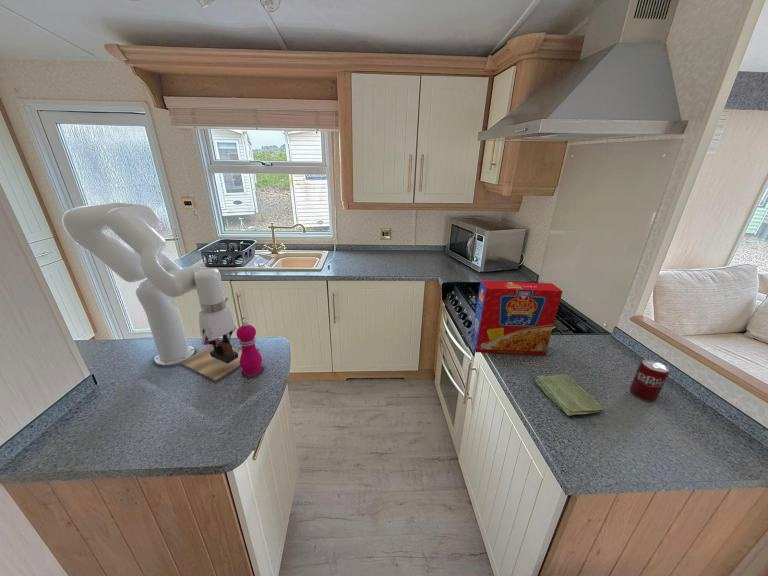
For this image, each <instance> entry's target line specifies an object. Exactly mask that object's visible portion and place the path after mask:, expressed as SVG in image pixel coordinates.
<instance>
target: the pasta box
mask: <svg viewBox="0 0 768 576" xmlns="http://www.w3.org/2000/svg"><path fill="white" fill-rule="evenodd" d="M562 295H563V290H562V289H560V288H559V287H558V286H556V285H555V284H554V283H553V282H528V281H527V282H526V281H503V280H502V281H499V280H497V281H496V280H480V281H479V288H478V294H477V299H476V300H477V301H476V307H475V312H474V319H473V320H474V321H473V326H472V332H471V339H470V343H471V345H472V347H473V349H474V352H475V353H481V354H507V355H509V354H510V355H534V356H546V355H547V351H548V348H549V343H550V339H551V336H552V333H553V329H554V325H555V322H556V318H557V314H558V310H559V306H560V302H561V299H562Z"/></svg>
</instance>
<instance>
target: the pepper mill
mask: <svg viewBox="0 0 768 576" xmlns="http://www.w3.org/2000/svg"><path fill="white" fill-rule="evenodd" d="M256 335H257V330H256V328H255V327H254V325H252V324H249V323H248V322H247V321H243V322H242V323H241V325H240V326H239V327H238V328H236V338H237V339H238V340H239V341H238V342H239V345H240V346H242V350H241V351H242V354H241V357H240V365H239V366H240V368H242V374H243V375H245V376H254V375H257V374H259V373H260V372H262V370H263V367H262V363H263V357H262V354H261V353H260V352H259V350H258V349H257V347H256V341H257V339H256Z"/></svg>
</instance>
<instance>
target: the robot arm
mask: <svg viewBox="0 0 768 576" xmlns="http://www.w3.org/2000/svg"><path fill="white" fill-rule="evenodd" d="M61 222H62V226H63V228H64V230H65V232H66V234H67V235H68V236H69V237H70V239H72V241H73V242H75V244H77V245H78V246H79V247H81V248H83V249H85V250H86V251H88V252H89V253H90V254H92V255H94V256H95V257H96V258H98V260H100V261H101V262H102V263H103V264H104V265H105V266H107V267H108V268H109V269H110V270H111V271H112V272H113V273H115V274H116V275H117V276H118V277H119V278H120V279H122V280H123V281H125V282H127V283H137V282H140V281H141V282H140V283H139V284H138V285H137V286H136V289H135V296H136V298H137V300H138V302H139V303H140V305H141V306H142V309H143V310H144V314H145V315H146V319H147V322H148V325H149V328H150V331H151V334H152V338H153V342H154V344H155V349H156V352H157V354H156V355H155V356H154V358H153V359H154V360H153V361H154V363H155V364H156V365H159V366H171V365H176V364H180V362H182V361H184V360H186V359H188V358H189V357H191V356H193V355H194V353H195V348H194V347H193V346H192V345H189V342H188V339H187V335H186V330H185V326H184V322H183V319H182V315H181V312H180V310H179V308H178V307H177V306H175V305H174V304H173V303H172V301H173V300H175V299H177V298H179V297H181V296H183V295H185V294H187V293H189V292H191V291H194V290H196V293H197V297H198V301H199V305H200V310H201V311H199V313H198V325H199V332H200V336H201V338H202V340H201V344H202V345H204V346H206V345H207V346H209V345H211V346H212V345H213V346H214V350H215V353H216V354H219V355H223V351H222V346H221V345H219V340H220V339H219V338H221V337H222V339H221V341H223V342H226V343H228V344H231V339H232V335H233V333H234V332H235V331H237V326H236V325H235V321H234V317H233V314H232V311H231V309H230V307H229V305H228V304H227V301H229V298H228V297H227V296H226V297H225V290H224V286H223V280H222V276H221V273H220V271H219V270H218V269H217V268H205V267H201V266H198V265H189V266H186V267H183V268H182V267H180V265H178V264H177V263H176V262H175V261H174V260H173V259H172V258H171V257H170V256H168V255H167V254H166V253H165V252H163V250H164V249H165V248H166V246H167V245H166V244H167V241H166V239H165V238H164V237H163V236H162V235H160V233H158V232H157V231H156V230H155V229H156V228H158V227H159V225H160V218H159V215H158V213H157V212H156V211H155V210H154V209H152V207H150V206H147V205H144V204H139V203H138V204H137V203H125V202H109V203H107V202H106V203H100V204H99V203H98V204H91V205H83V206H77V207H73V208H71V209H68V210H67V211H65V212H64V214H63V215H62V220H61ZM108 231H112V232H113V233H114V234H115V235H116V236H117V237H119V238H120V239H121V240H120V239H119V238H117V237H114V236H113V235H112V236H111V235H109V234H106V233H104V232H108Z"/></svg>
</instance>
